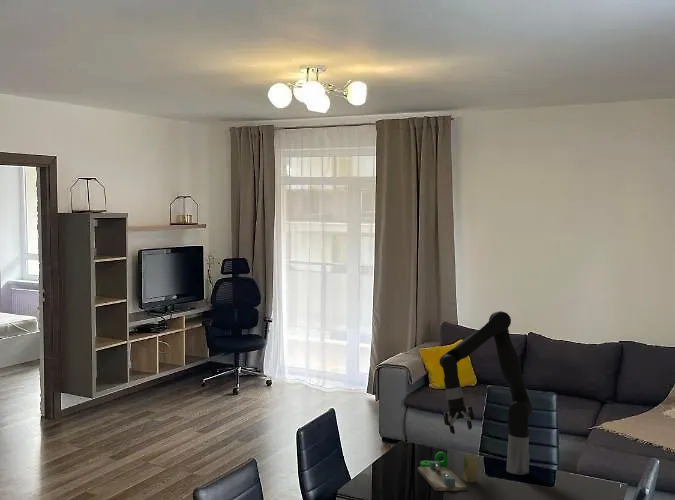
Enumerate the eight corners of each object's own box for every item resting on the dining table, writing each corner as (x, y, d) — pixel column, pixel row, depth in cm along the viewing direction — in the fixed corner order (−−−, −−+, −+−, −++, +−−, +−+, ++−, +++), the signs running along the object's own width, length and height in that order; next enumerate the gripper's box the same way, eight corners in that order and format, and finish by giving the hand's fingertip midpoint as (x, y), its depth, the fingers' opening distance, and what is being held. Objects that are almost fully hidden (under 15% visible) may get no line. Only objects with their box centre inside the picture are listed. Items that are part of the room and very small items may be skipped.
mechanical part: (445, 466, 317) (446, 449, 317) (446, 470, 311) (447, 453, 311) (419, 464, 318) (420, 447, 318) (420, 468, 312) (421, 451, 312)
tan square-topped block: (472, 478, 302) (473, 456, 302) (476, 481, 298) (477, 459, 298) (463, 478, 301) (464, 456, 301) (466, 482, 297) (468, 459, 297)
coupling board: (446, 469, 311) (447, 460, 311) (466, 490, 287) (467, 479, 287) (417, 470, 309) (418, 460, 309) (435, 490, 284) (436, 480, 284)
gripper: (465, 392, 322) (471, 426, 321) (437, 399, 318) (444, 433, 317) (472, 394, 315) (478, 429, 314) (444, 401, 311) (451, 436, 310)
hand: (461, 431), depth 315 cm, fingers open, 8 cm apart
